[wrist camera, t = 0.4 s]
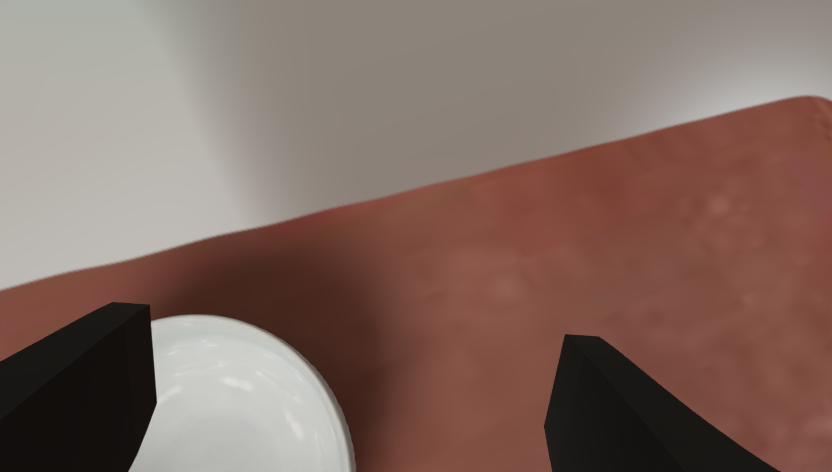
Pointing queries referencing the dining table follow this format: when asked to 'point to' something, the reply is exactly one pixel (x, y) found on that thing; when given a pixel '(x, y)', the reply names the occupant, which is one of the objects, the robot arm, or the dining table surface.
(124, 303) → the robot arm
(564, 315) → the dining table surface
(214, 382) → the cereal bowl
